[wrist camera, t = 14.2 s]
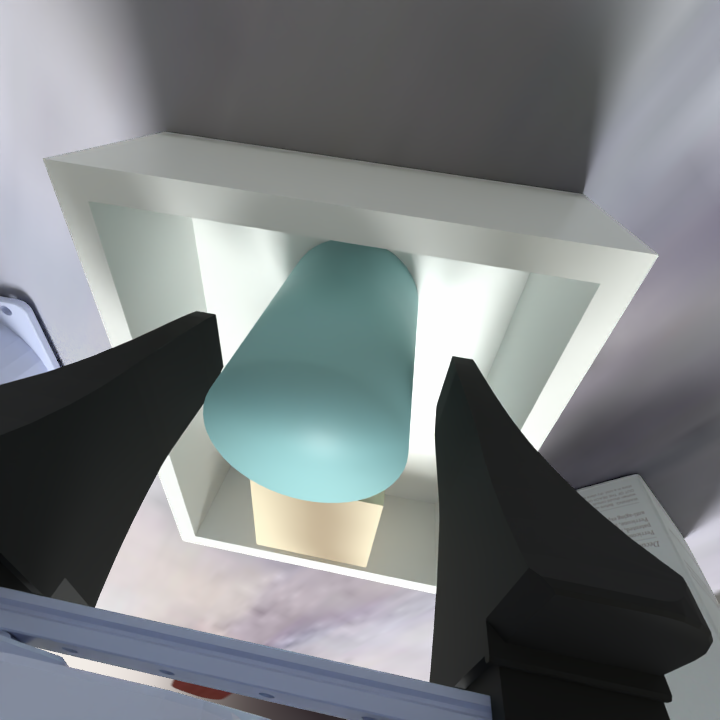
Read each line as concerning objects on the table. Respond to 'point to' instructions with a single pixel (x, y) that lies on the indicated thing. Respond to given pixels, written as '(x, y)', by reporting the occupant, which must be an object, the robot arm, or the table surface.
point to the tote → (363, 227)
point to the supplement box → (662, 539)
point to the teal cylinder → (323, 379)
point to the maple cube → (317, 525)
